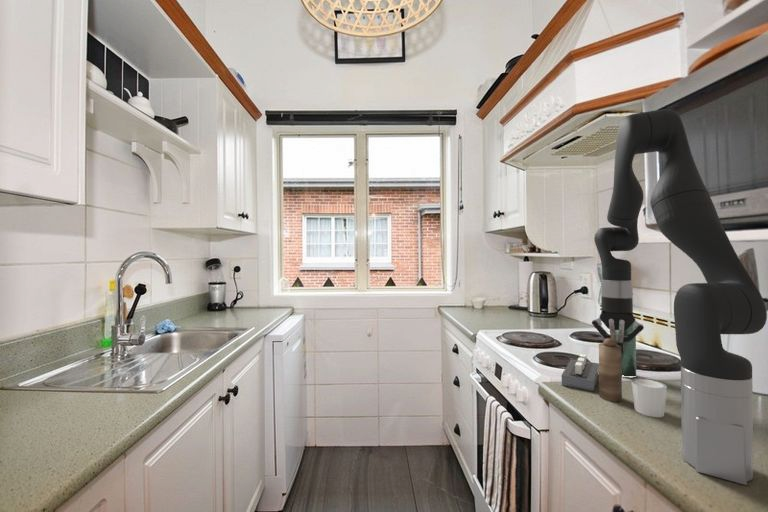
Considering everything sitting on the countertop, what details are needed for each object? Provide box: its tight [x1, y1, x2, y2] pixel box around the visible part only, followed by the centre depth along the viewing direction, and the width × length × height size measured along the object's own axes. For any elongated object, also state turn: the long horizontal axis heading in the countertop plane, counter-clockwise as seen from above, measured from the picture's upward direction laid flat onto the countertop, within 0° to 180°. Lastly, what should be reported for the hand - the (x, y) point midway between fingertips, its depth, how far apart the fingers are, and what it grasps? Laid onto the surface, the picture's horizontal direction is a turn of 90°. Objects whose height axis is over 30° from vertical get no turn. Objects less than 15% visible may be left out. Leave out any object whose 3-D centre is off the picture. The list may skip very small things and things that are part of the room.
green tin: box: [616, 318, 637, 377], centre depth 105 cm, size 5×5×19 cm
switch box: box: [561, 358, 599, 392], centre depth 103 cm, size 18×8×3 cm, turn 143°
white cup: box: [630, 378, 668, 418], centre depth 81 cm, size 7×7×7 cm
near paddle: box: [575, 362, 583, 374], centre depth 99 cm, size 3×2×3 cm, turn 143°
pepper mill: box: [598, 338, 623, 403], centre depth 89 cm, size 5×5×16 cm
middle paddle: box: [576, 357, 585, 370], centre depth 103 cm, size 3×2×3 cm, turn 143°
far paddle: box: [579, 353, 588, 365], centre depth 107 cm, size 3×2×3 cm, turn 143°
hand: (617, 354), depth 97 cm, fingers closed
